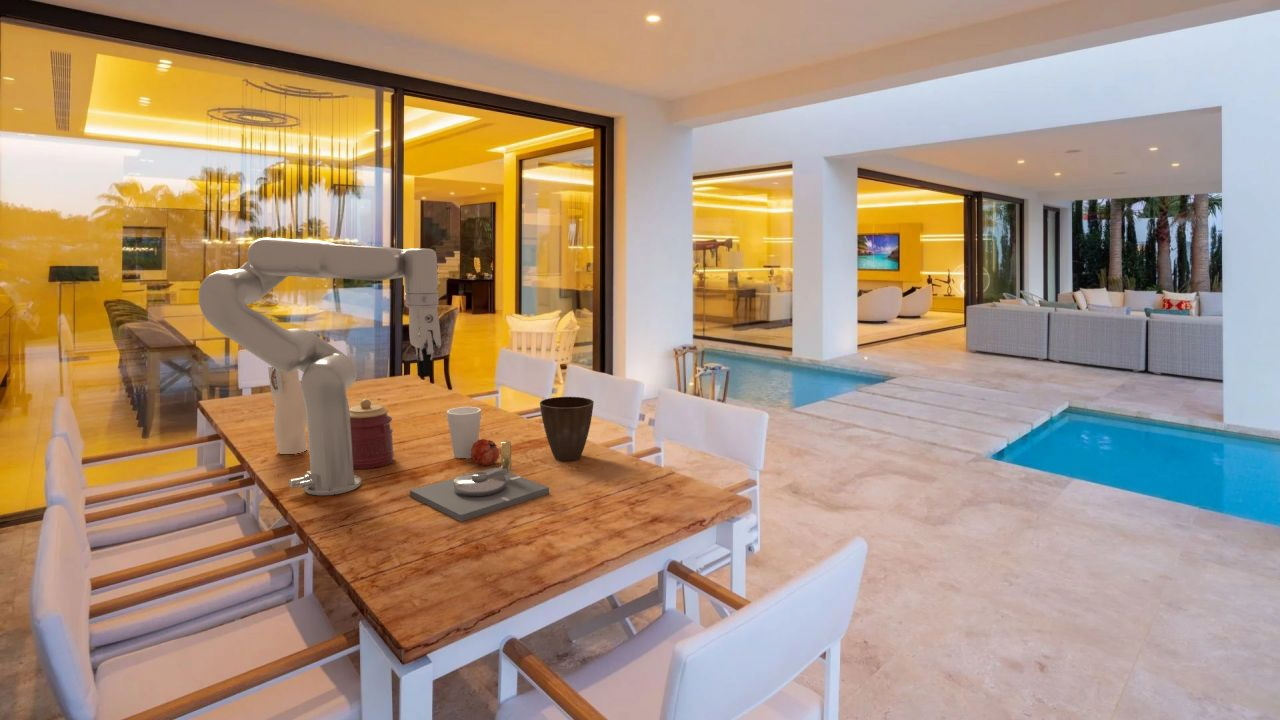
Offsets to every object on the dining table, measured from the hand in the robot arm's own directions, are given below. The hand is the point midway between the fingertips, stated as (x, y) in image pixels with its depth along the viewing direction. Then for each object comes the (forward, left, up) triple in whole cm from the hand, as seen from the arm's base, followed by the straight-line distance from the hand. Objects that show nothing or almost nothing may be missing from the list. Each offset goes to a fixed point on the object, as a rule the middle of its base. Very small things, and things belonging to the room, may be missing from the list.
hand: (425, 376), depth 164 cm
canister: (-3, +27, -27) cm, 39 cm away
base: (+4, -16, -27) cm, 32 cm away
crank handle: (+6, -16, -25) cm, 30 cm away
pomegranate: (+18, +3, -27) cm, 33 cm away
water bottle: (-14, +52, -27) cm, 60 cm away
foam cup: (+19, +14, -27) cm, 36 cm away
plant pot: (+38, -8, -27) cm, 47 cm away
